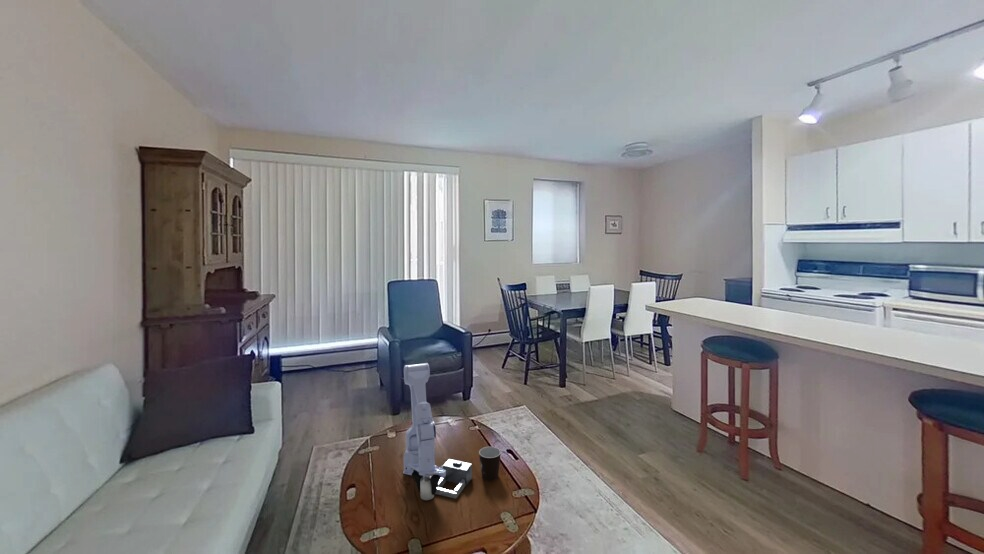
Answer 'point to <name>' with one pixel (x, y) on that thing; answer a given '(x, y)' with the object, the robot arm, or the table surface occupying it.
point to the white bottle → (426, 488)
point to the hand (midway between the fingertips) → (427, 491)
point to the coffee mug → (489, 462)
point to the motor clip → (455, 477)
